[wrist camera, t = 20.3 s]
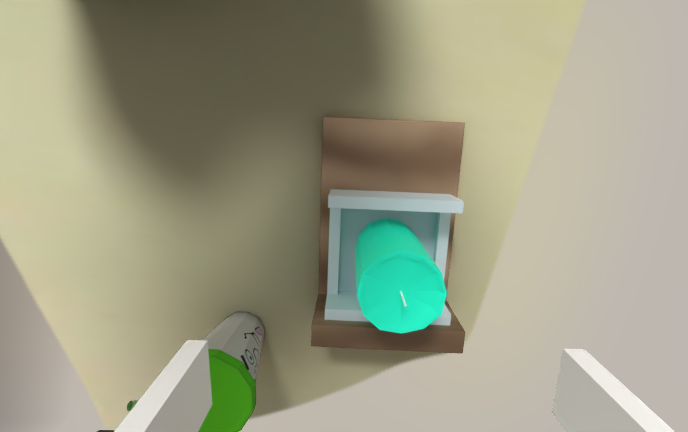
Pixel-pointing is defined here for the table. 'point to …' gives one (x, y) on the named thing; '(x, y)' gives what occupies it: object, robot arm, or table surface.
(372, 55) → the table surface
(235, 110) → the table surface
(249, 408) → the cup
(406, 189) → the track
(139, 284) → the table surface
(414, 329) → the candle
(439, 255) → the light blue holder
